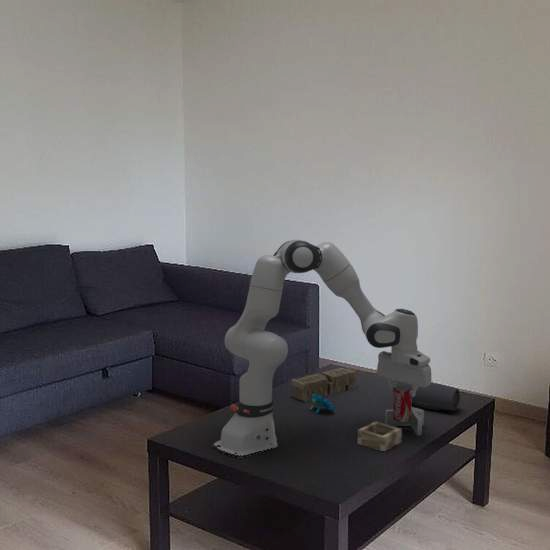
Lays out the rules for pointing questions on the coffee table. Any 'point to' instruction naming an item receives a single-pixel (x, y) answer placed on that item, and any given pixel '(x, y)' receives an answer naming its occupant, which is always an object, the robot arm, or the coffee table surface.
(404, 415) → the beverage can
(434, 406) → the bluetooth speaker
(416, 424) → the v-block
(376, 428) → the bore block
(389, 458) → the coffee table surface
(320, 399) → the blue toy figure
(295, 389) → the block tower
